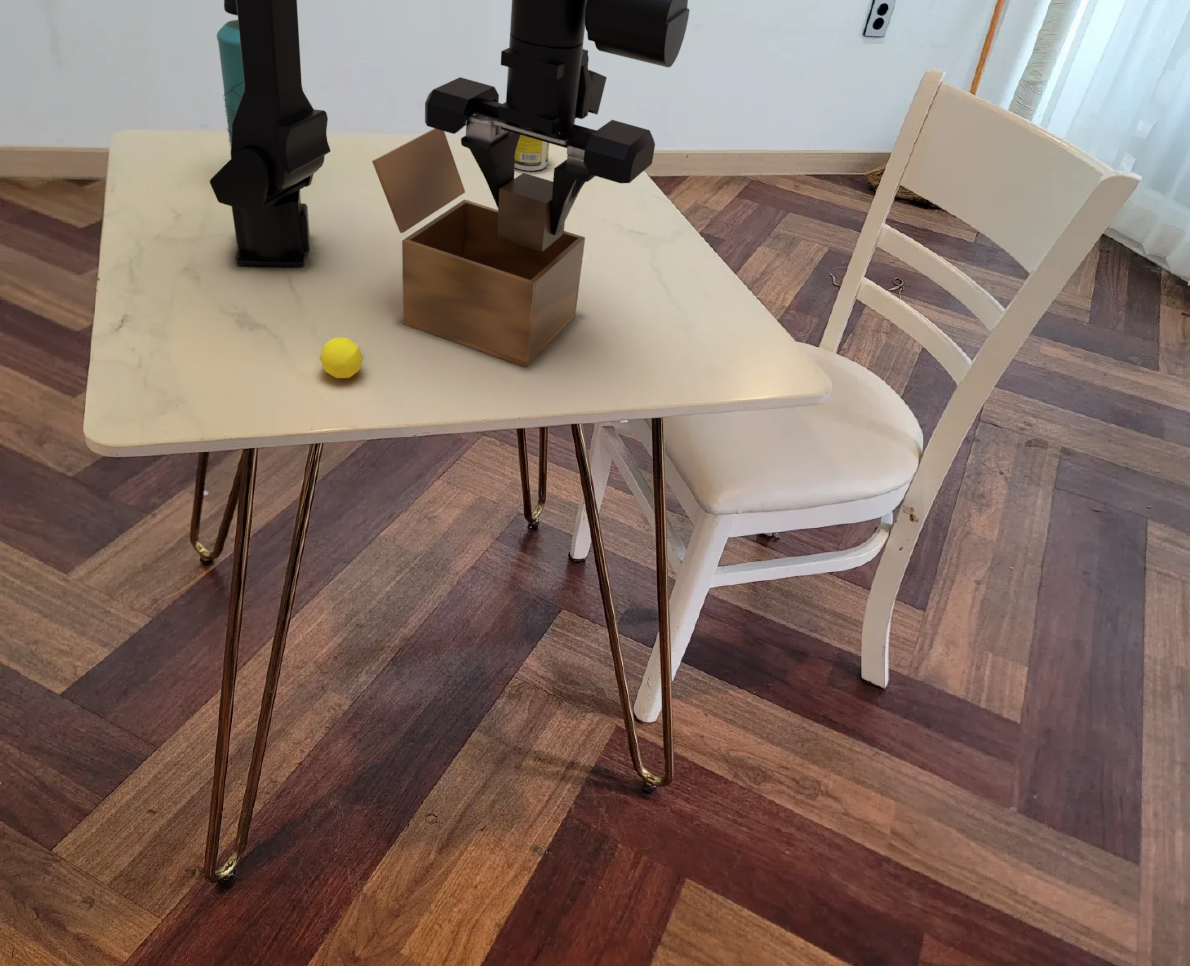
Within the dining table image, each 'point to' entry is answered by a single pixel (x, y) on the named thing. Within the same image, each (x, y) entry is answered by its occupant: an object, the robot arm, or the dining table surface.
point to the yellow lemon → (341, 357)
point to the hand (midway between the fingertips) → (531, 225)
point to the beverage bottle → (231, 63)
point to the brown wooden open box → (488, 284)
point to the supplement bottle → (531, 154)
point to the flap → (419, 178)
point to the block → (526, 212)
